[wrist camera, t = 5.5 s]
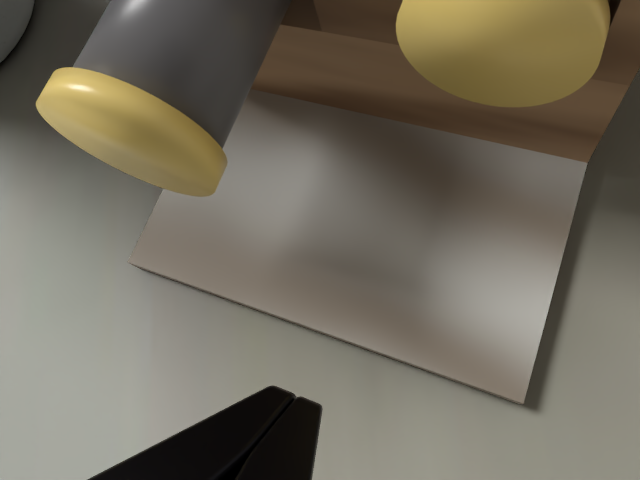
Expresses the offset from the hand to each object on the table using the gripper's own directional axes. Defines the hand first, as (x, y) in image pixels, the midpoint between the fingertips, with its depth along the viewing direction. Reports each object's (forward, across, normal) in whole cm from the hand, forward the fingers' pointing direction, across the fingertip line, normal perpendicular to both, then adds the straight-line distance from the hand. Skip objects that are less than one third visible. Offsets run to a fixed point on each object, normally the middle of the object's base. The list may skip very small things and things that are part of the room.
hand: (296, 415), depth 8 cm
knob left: (+10, +7, -2) cm, 12 cm away
